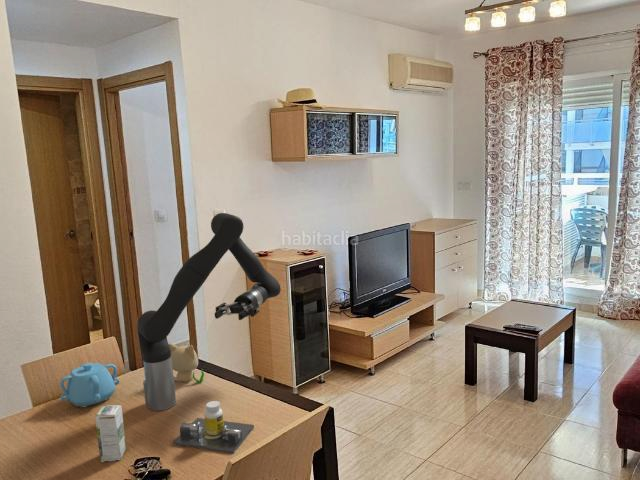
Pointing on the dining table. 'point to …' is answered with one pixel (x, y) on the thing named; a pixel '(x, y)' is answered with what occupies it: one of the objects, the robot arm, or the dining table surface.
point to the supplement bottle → (213, 419)
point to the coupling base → (227, 442)
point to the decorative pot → (89, 384)
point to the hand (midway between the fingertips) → (227, 316)
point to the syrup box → (110, 433)
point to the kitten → (184, 362)
